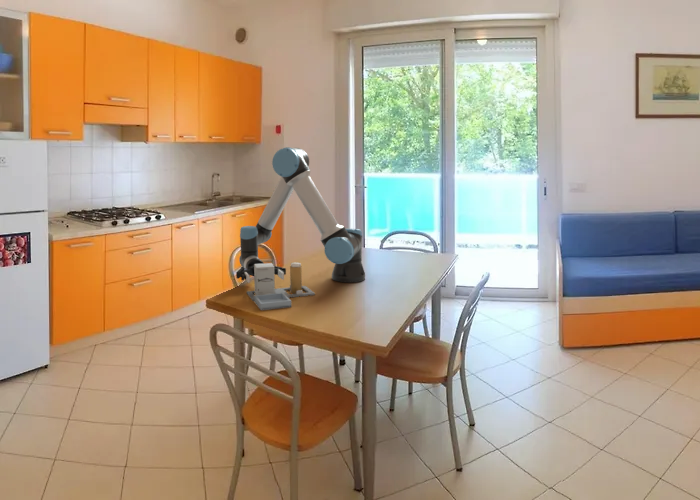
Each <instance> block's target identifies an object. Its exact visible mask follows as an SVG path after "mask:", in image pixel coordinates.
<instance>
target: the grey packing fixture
mask: <svg viewBox="0 0 700 500" xmlns="http://www.w3.org/2000/svg"><path fill="white" fill-rule="evenodd" d="M303 289H304V290H303ZM287 290H288V291H290V286H289V287H280V288H278V287H277V288H275V293H284V294H285V295H286V296H287V297H288V298H289V299H290V297H291V298H297V297H298V298H300V297H307V296H308V295H310V296H315V295H316V293H315V292H314V291H312V289H311V288H310V287H308V286H306V285H302V290H299V291H296V294H291V293H288V292H287ZM303 291H305V292H303ZM246 294H247V296H248V297H249V299H250V300H251V301H252V302H254V296H255V290H246ZM269 294H270V293H269ZM264 295H265V294H264ZM299 296H300V297H299Z"/></svg>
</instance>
